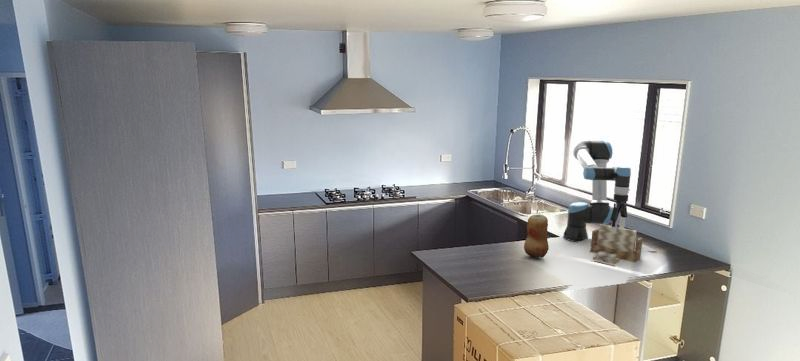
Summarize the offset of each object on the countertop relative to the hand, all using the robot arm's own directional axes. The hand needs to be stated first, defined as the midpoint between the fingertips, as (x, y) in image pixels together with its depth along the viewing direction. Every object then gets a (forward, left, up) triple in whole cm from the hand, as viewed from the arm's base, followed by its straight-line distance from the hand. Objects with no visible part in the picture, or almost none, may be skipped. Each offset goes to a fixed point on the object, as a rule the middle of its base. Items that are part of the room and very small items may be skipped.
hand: (617, 230), depth 291 cm
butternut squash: (-32, -35, -16) cm, 50 cm away
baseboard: (-1, +33, -17) cm, 37 cm away
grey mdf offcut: (0, -14, -14) cm, 20 cm away
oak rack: (0, 0, -16) cm, 16 cm away
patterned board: (0, 0, -15) cm, 15 cm away
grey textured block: (0, -13, -17) cm, 21 cm away
